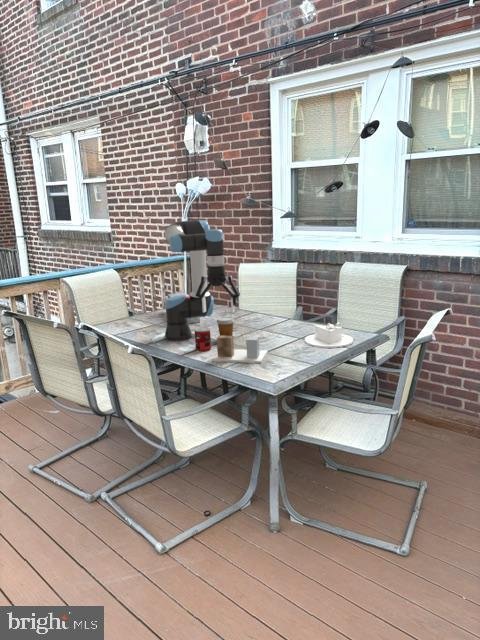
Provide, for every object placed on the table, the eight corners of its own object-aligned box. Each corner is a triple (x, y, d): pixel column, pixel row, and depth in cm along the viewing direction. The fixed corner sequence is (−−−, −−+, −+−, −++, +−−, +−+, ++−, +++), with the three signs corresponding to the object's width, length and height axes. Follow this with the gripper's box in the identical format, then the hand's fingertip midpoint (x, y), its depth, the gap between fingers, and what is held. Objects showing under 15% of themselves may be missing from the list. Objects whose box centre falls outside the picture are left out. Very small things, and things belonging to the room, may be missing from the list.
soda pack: (168, 312, 327) (166, 293, 323) (186, 310, 331) (184, 291, 327) (181, 325, 289) (179, 304, 286) (200, 323, 293) (199, 301, 290)
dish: (362, 340, 243) (362, 319, 240) (334, 351, 226) (334, 329, 224) (323, 332, 260) (323, 313, 258) (295, 343, 244) (295, 322, 241)
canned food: (195, 347, 242) (194, 327, 239) (211, 346, 243) (209, 326, 240) (195, 352, 235) (194, 331, 232) (211, 351, 235) (210, 330, 233)
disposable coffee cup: (237, 337, 256) (236, 316, 254) (231, 342, 248) (230, 321, 245) (221, 337, 260) (220, 316, 257) (215, 341, 251) (213, 320, 248)
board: (211, 360, 220) (211, 358, 220) (221, 350, 235) (221, 348, 235) (261, 363, 214) (260, 361, 214) (267, 352, 229) (267, 350, 229)
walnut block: (217, 357, 221) (216, 337, 219) (220, 355, 225) (219, 335, 222) (231, 358, 219) (230, 338, 217) (234, 355, 223) (233, 335, 221)
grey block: (247, 358, 219) (246, 339, 217) (249, 354, 224) (248, 336, 221) (257, 358, 218) (256, 340, 215) (259, 355, 222) (258, 337, 220)
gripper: (186, 266, 204) (189, 313, 209) (241, 265, 197) (243, 314, 202) (192, 264, 211) (195, 309, 216) (245, 263, 204) (247, 310, 209)
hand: (218, 312), depth 209 cm, fingers open, 13 cm apart
